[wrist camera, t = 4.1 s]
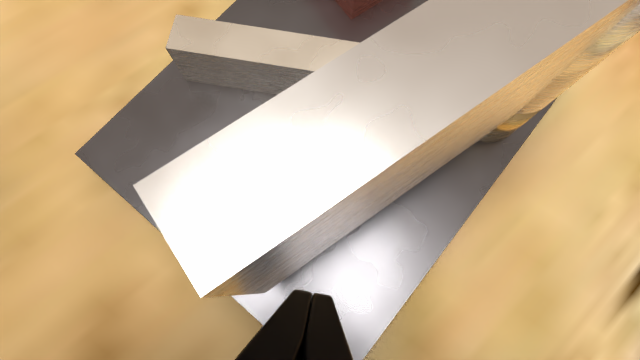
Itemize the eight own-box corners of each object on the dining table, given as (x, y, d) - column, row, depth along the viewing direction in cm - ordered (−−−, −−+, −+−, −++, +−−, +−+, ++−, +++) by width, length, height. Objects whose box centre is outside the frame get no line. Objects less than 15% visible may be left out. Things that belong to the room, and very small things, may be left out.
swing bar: (519, 31, 15) (686, -183, 8) (573, 86, 14) (801, -95, 8) (223, 230, 13) (120, 164, 6) (271, 304, 12) (215, 322, 6)
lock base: (336, 385, 15) (341, 413, 12) (90, 162, 18) (35, 131, 14) (566, 76, 19) (623, 27, 15) (337, -76, 21) (341, -147, 18)
